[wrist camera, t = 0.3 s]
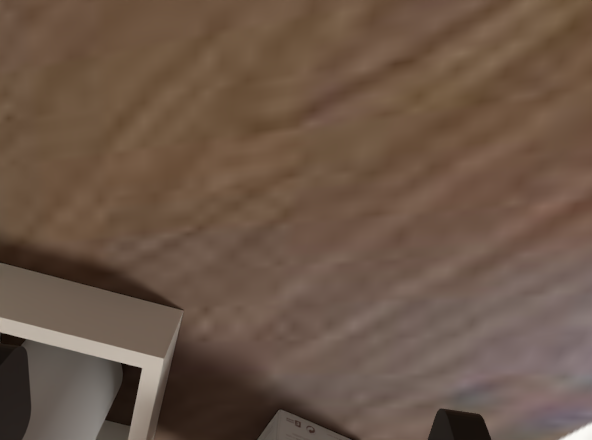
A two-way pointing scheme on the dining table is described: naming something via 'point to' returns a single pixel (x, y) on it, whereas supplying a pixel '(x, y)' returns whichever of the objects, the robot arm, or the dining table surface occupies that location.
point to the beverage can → (69, 392)
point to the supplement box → (296, 429)
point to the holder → (96, 334)
